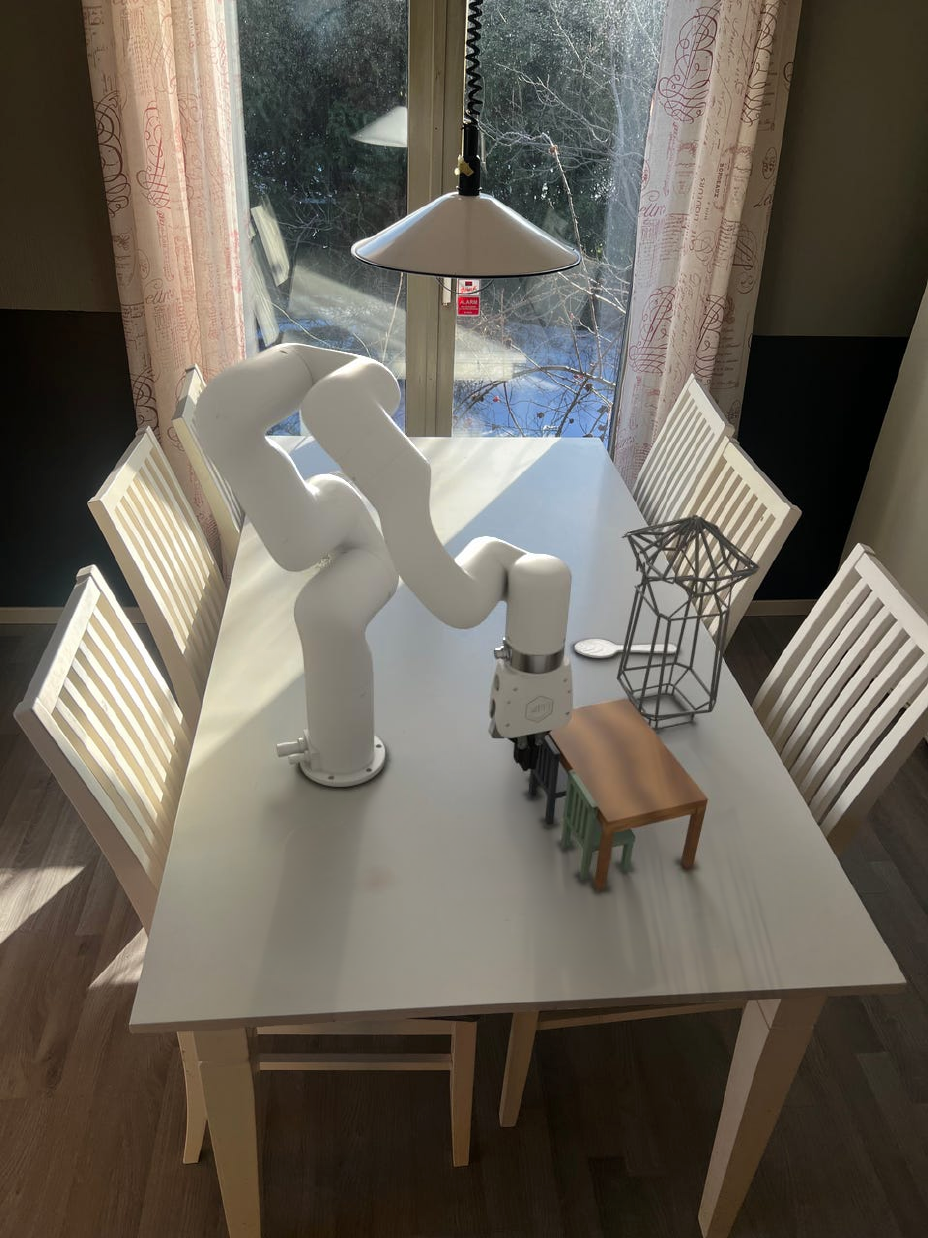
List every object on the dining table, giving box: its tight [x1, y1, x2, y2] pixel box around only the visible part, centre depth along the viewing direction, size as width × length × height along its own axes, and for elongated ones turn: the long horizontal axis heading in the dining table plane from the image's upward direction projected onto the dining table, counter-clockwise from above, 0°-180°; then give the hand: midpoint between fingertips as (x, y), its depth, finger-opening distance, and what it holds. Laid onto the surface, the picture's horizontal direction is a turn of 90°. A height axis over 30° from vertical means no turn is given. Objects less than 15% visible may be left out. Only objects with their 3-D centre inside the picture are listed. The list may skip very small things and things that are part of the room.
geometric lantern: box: [616, 513, 761, 731], centre depth 149 cm, size 16×16×35 cm
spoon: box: [574, 638, 677, 659], centre depth 173 cm, size 5×18×1 cm, turn 92°
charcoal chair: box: [528, 735, 568, 826], centre depth 136 cm, size 7×7×13 cm
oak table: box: [537, 697, 709, 892], centre depth 134 cm, size 14×22×12 cm, turn 19°
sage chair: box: [560, 770, 637, 881], centre depth 128 cm, size 7×7×13 cm
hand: (525, 763), depth 133 cm, fingers closed
